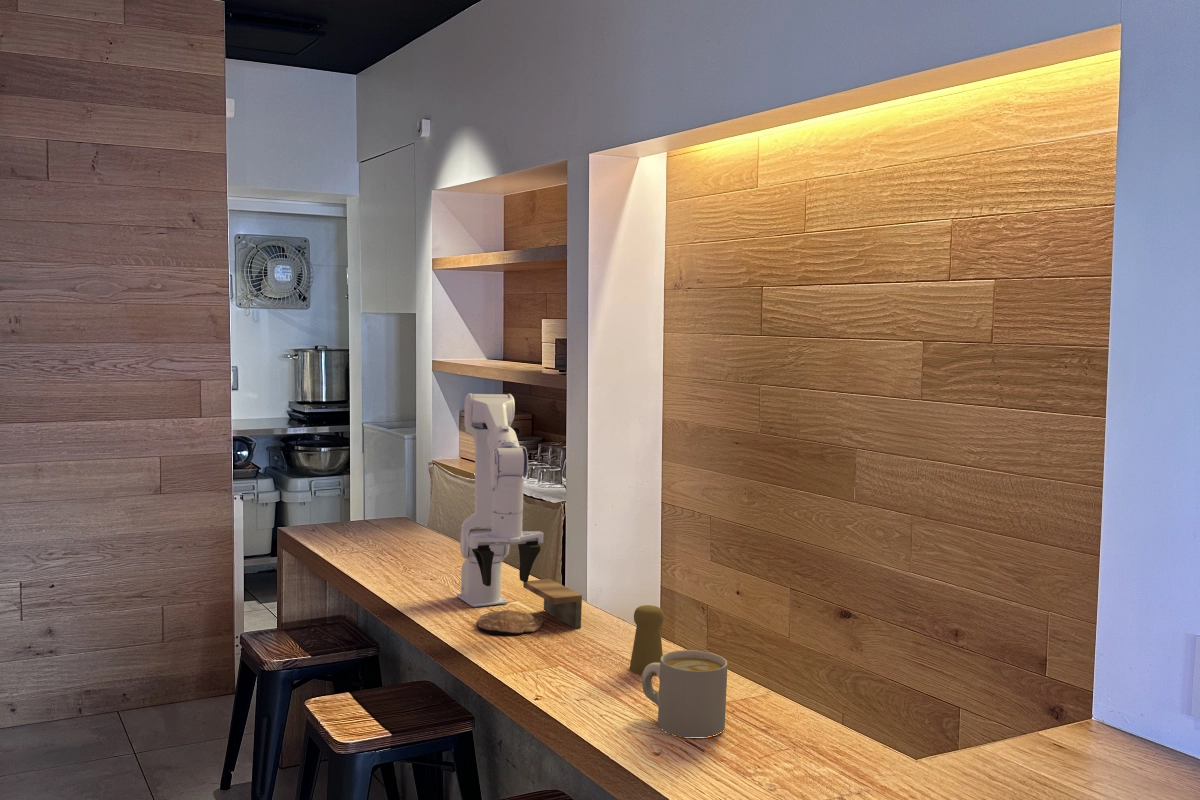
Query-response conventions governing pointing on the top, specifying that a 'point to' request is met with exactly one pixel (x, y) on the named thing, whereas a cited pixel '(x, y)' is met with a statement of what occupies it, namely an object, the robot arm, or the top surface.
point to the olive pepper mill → (647, 638)
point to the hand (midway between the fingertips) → (505, 583)
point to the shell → (509, 623)
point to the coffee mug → (689, 692)
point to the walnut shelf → (558, 600)
